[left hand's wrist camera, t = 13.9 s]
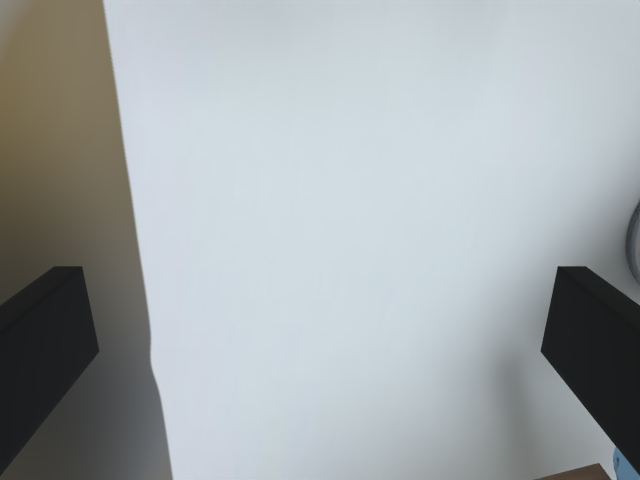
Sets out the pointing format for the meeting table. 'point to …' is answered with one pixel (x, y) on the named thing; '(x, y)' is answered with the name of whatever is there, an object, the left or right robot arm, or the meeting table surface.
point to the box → (581, 474)
